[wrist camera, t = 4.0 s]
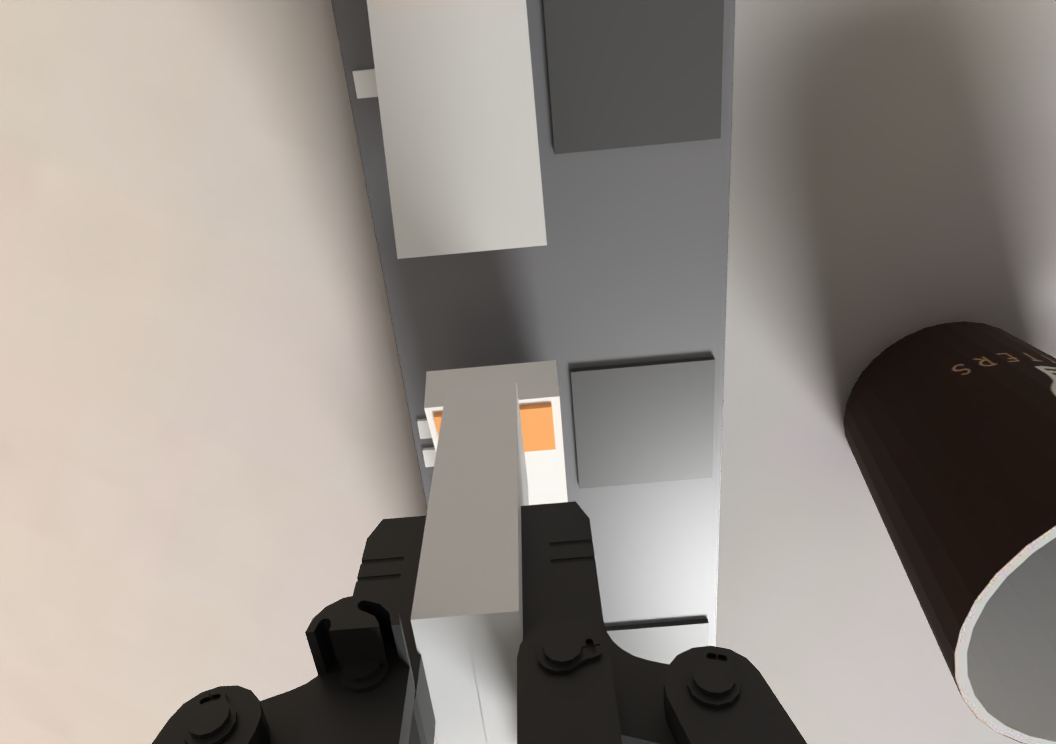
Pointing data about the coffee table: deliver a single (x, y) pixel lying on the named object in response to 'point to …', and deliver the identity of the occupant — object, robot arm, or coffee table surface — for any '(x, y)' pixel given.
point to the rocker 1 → (458, 124)
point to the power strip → (600, 289)
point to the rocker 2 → (535, 412)
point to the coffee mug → (971, 507)
